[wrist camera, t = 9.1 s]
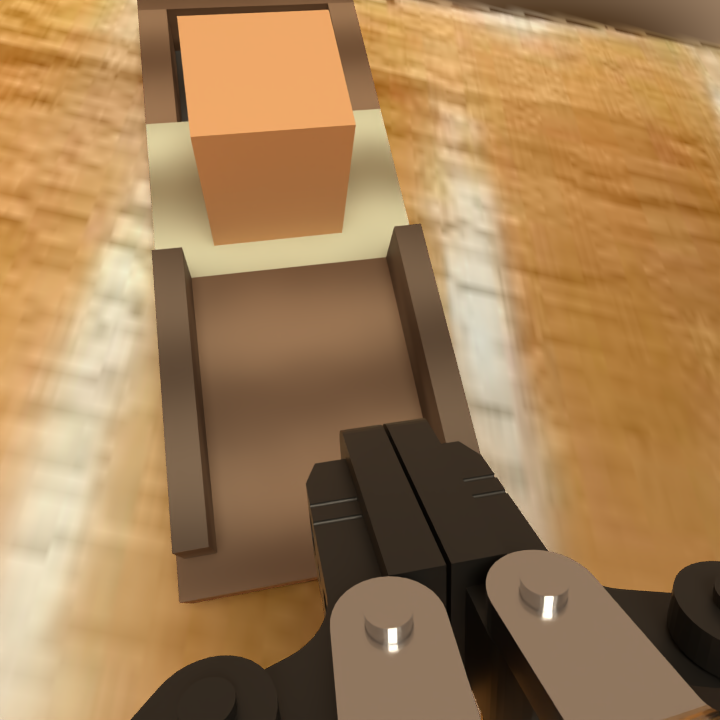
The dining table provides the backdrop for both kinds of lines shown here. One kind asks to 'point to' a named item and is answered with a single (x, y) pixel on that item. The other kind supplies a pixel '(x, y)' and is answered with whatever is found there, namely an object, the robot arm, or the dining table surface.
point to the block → (268, 123)
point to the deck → (280, 330)
